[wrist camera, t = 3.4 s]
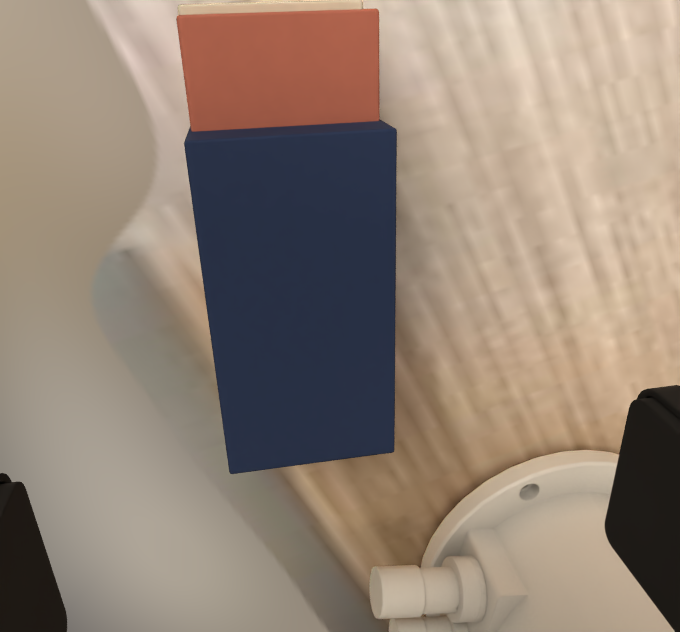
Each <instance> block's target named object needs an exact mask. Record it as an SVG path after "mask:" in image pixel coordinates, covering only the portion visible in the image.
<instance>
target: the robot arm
mask: <svg viewBox="0 0 680 632" xmlns="http://www.w3.org/2000/svg"><path fill="white" fill-rule="evenodd" d="M369 588H370V601H371V607H372V611H373V614H374V617H375V618H377V619H390V621H389V632H680V386H678V385H674V386H667V387H659V388H651V389H646V390H643V391H642V392H641V393H640V394H639V395H638V398H637V400H634V401H633V402H632V403H631V405H630V407H629V411H628V416H627V421H626V425H625V430H624V435H623V439H622V444H621V449H620V453H619V454H615V453H612V452H605V451H596V450H576V451H562V452H558V453H553V454H549V455H545V456H540V457H536V458H533V459H531V460H528V461H526V462H523V463H521V464H518V465H515V466H513V467H510V468H508V469H506V470H505V471H503V472H501V473H499V474H498V475H496V476H494V477H492V478H490V479H489V480H487V481H485V482H484V483H483V484H481V485H480V486H479V487H477V488H476V489H475V490H473V491H472V492H471V493H470V494H468V495H467V496H466V497H464V498H463V499H462V500H461V501H460V502H459V503H458V504H457V505H456V506H455V507H454V509H453V510H452V511H451V512H450V513H449V514H448V515H447V516H446V517H445V518H444V520H443V521H442V523H441V524H440V525H439V527H438V528H437V530H436V531H435V533H434V534H433V536H432V537H431V539H430V542H429V544H428V546H427V549H426V551H425V553H424V555H423V558H422V563H421V568H419V567H418V566H417V565H394V566H374V567H373V568H372V571H371V574H370V585H369ZM422 614H426V617H422V616H421V615H422ZM0 632H67V616H66V611H65V607H64V604H63V601H62V598H61V595H60V592H59V589H58V586H57V583H56V580H55V577H54V574H53V571H52V567H51V564H50V561H49V558H48V555H47V552H46V549H45V546H44V543H43V540H42V537H41V534H40V531H39V528H38V525H37V522H36V519H35V516H34V512H33V510H32V507H31V504H30V500H29V497H28V494H27V491H26V489H25V486H24V484H23V483H22V482H11V480H10V478H9V477H8V475H7V474H4V473H1V474H0Z"/></svg>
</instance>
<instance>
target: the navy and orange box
mask: <svg viewBox="0 0 680 632" xmlns="http://www.w3.org/2000/svg"><path fill="white" fill-rule="evenodd" d="M177 27H178V34H179V42H180V49H181V57H182V64H183V72H184V80H185V87H186V95H187V102H188V110H189V117H190V125H191V126H190V129H189V131H188V134H187V137H186V139H185V142H184V146H185V153H186V161H187V168H188V175H189V182H190V190H191V197H192V204H193V211H194V219H195V226H196V233H197V240H198V248H199V255H200V262H201V269H202V277H203V284H204V291H205V298H206V305H207V313H208V320H209V327H210V334H211V342H212V349H213V356H214V363H215V371H216V378H217V385H218V392H219V400H220V407H221V414H222V421H223V429H224V436H225V443H226V450H227V457H228V465H229V472H230V474H236V473H243V472H251V471H258V470H265V469H273V468H280V467H288V466H295V465H303V464H310V463H318V462H325V461H332V460H340V459H347V458H355V457H362V456H370V455H377V454H385V453H392V452H394V427H395V291H396V156H397V130H396V129H395V128H394V127H392V126H390V125H388V124H387V123H385V122H383V121H381V120H380V119H379V11H378V9H363V1H362V0H318V1H284V2H250V3H216V4H182V5H178V16H177Z"/></svg>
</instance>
